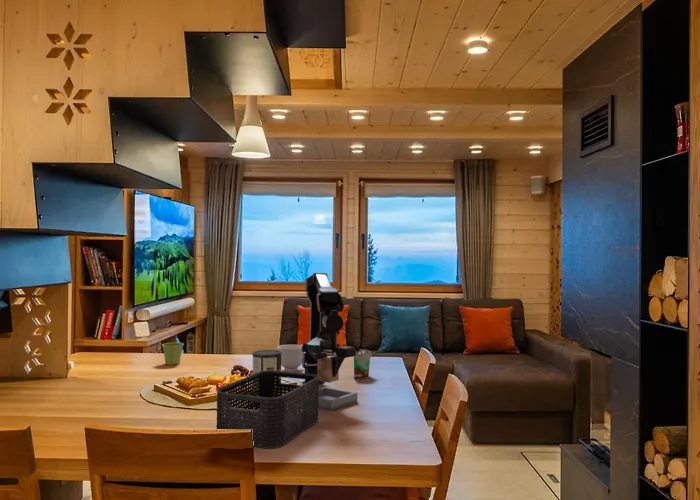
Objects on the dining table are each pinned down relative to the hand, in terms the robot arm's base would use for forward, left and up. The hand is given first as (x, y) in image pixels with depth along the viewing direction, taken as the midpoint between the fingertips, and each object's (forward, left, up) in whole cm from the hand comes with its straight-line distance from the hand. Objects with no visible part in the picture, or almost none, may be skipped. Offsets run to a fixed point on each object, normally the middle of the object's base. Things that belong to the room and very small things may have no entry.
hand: (327, 375), depth 183 cm
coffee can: (-26, -2, -9) cm, 28 cm away
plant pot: (-95, +9, -9) cm, 96 cm away
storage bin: (+5, -32, -9) cm, 34 cm away
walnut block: (0, 0, -2) cm, 2 cm away
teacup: (-45, +33, -9) cm, 56 cm away
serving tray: (0, 0, -9) cm, 9 cm away
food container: (-14, +41, -9) cm, 44 cm away
